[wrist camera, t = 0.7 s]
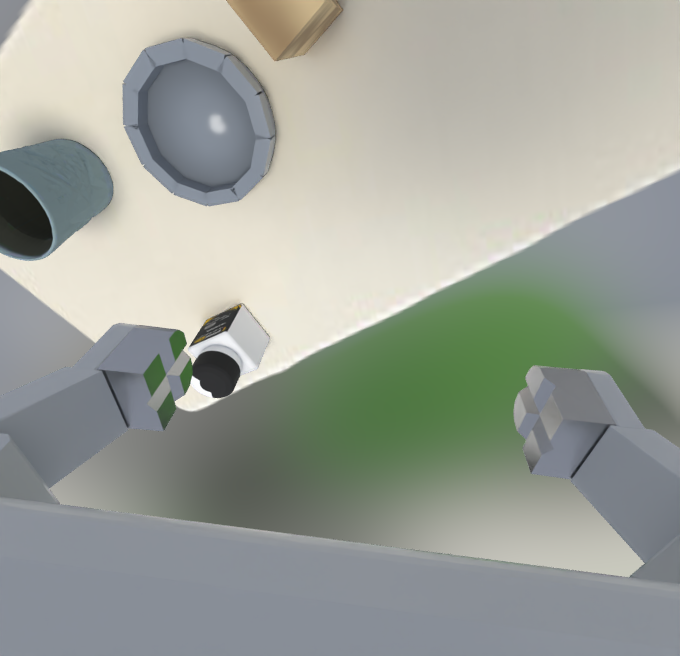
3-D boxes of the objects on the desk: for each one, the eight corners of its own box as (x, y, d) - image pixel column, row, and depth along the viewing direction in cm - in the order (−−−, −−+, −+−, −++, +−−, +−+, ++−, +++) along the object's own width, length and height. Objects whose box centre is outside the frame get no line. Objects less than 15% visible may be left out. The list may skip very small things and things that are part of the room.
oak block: (304, -46, 33) (270, -79, 24) (343, 10, 35) (325, 0, 26) (266, 4, 36) (220, -7, 26) (304, 54, 38) (274, 61, 28)
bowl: (190, -1, 36) (176, -4, 34) (304, 135, 42) (298, 141, 39) (113, 118, 43) (96, 123, 41) (219, 220, 49) (211, 230, 46)
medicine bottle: (242, 302, 56) (212, 357, 46) (271, 337, 59) (248, 395, 50) (205, 319, 59) (169, 374, 49) (235, 352, 62) (206, 410, 53)
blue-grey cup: (71, 115, 43) (-20, 138, 34) (138, 196, 48) (76, 236, 39) (19, 160, 47) (-76, 192, 37) (87, 232, 52) (18, 276, 42)
